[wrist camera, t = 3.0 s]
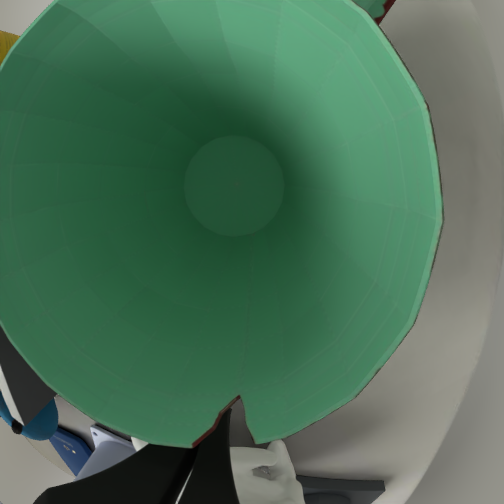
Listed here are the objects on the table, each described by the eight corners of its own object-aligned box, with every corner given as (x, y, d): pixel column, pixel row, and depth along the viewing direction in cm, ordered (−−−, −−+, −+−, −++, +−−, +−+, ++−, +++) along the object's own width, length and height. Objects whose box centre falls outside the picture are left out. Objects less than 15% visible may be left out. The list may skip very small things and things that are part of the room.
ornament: (-23, 354, 16) (-47, 405, 8) (5, 324, 18) (-14, 365, 11) (38, 416, 19) (46, 482, 12) (65, 390, 22) (81, 450, 14)
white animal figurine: (248, 567, 11) (87, 485, 12) (272, 486, 19) (146, 414, 20) (309, 554, 9) (100, 456, 10) (322, 454, 17) (174, 369, 18)
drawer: (154, 226, 14) (44, 275, 7) (143, 386, 17) (87, 468, 10) (-18, 183, 15) (-90, 198, 8) (-11, 302, 18) (-67, 335, 11)
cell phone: (126, 506, 24) (128, 502, 25) (79, 442, 21) (83, 438, 21) (84, 487, 26) (86, 483, 26) (36, 420, 22) (40, 416, 23)
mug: (259, 322, 15) (209, 494, 6) (111, 213, 15) (-49, 266, 5) (430, 92, 11) (571, 21, 1) (264, -12, 11) (222, -154, 1)
